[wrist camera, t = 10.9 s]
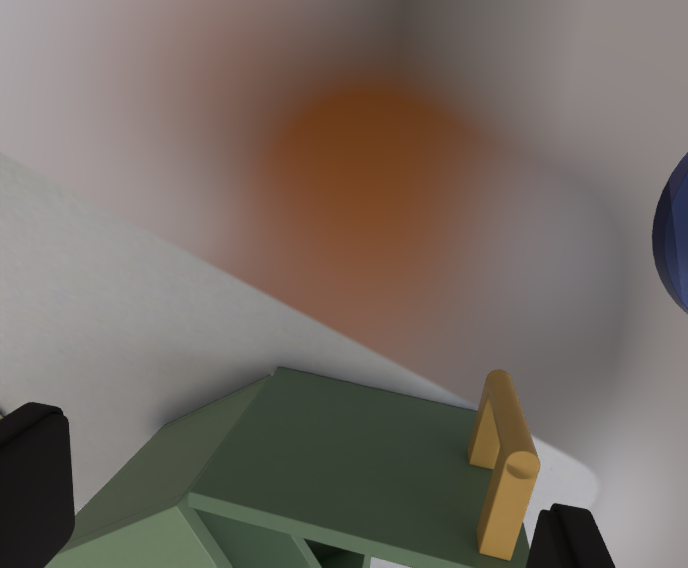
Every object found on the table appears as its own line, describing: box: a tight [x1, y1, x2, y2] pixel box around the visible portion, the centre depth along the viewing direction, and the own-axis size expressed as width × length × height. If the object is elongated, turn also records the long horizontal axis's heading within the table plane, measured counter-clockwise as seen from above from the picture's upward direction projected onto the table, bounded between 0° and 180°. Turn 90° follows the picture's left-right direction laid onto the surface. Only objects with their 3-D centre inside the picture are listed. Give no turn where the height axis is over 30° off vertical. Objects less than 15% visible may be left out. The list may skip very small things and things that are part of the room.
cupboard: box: [44, 375, 371, 568], centre depth 37 cm, size 12×18×16 cm, turn 30°
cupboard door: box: [188, 367, 540, 568], centre depth 31 cm, size 7×18×16 cm, turn 81°
